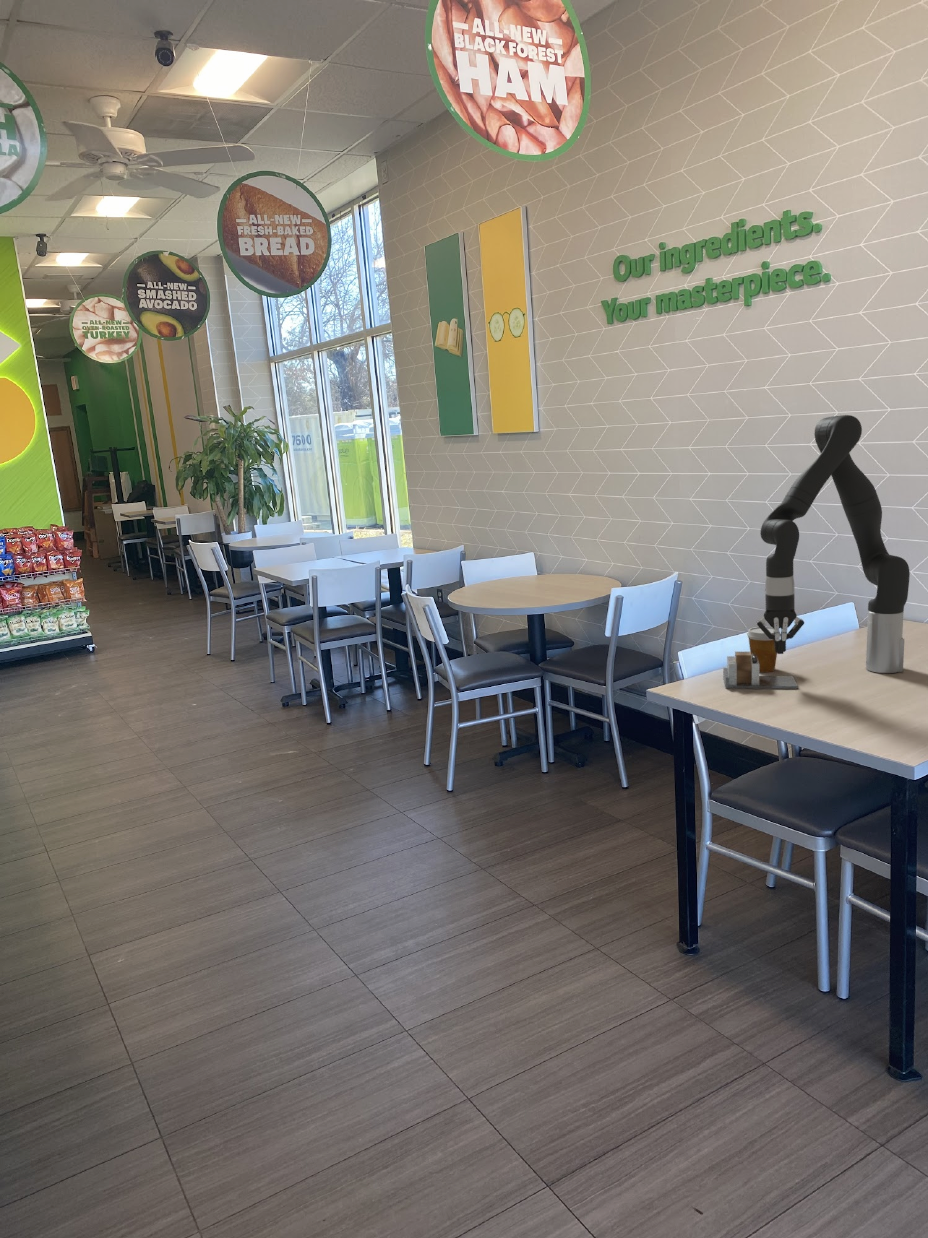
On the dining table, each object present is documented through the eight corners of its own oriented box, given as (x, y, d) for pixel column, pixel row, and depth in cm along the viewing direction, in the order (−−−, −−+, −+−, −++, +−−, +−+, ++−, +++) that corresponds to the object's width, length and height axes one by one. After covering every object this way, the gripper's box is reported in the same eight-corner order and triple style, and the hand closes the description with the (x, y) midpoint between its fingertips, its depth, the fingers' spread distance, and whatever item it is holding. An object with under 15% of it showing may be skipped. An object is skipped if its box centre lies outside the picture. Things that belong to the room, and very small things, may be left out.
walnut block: (749, 679, 255) (749, 651, 254) (750, 683, 251) (751, 655, 250) (734, 678, 256) (735, 651, 254) (735, 682, 252) (736, 655, 251)
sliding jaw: (756, 676, 257) (756, 652, 255) (759, 684, 249) (759, 659, 247) (748, 676, 257) (749, 652, 256) (751, 684, 249) (751, 659, 248)
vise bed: (792, 678, 256) (793, 655, 254) (797, 689, 246) (798, 665, 245) (723, 678, 260) (723, 655, 258) (725, 688, 250) (725, 665, 249)
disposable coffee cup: (776, 664, 271) (776, 625, 268) (784, 673, 262) (784, 633, 259) (743, 665, 272) (743, 626, 269) (750, 674, 263) (750, 634, 260)
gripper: (755, 595, 244) (756, 657, 248) (807, 593, 241) (807, 656, 245) (753, 590, 251) (753, 650, 255) (803, 588, 248) (803, 649, 252)
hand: (780, 653), depth 250 cm, fingers closed
